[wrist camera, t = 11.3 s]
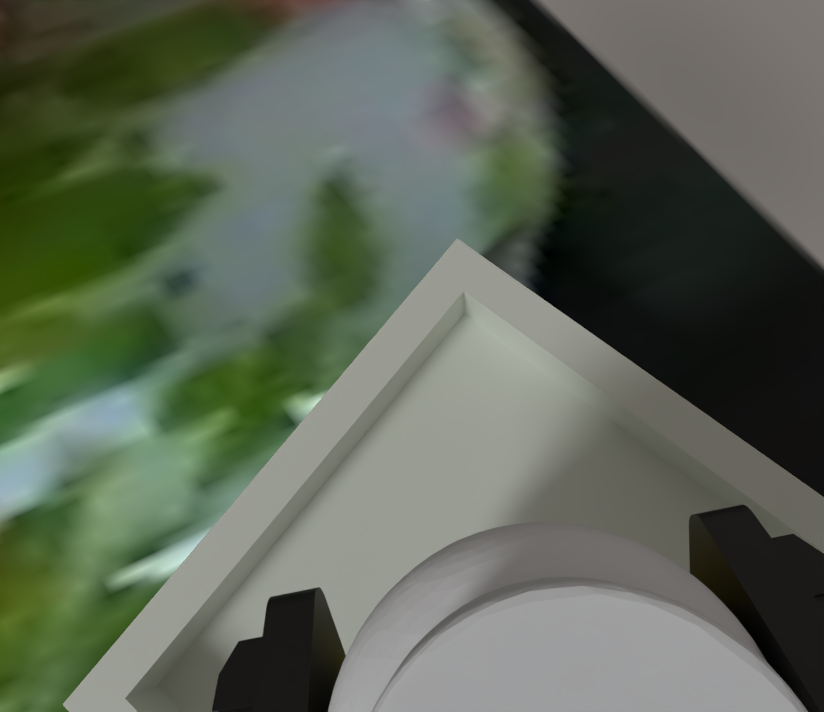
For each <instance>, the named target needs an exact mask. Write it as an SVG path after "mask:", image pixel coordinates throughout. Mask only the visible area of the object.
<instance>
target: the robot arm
mask: <svg viewBox="0 0 824 712" xmlns="http://www.w3.org/2000/svg"><path fill="white" fill-rule="evenodd" d="M689 559H690V574H692V575H693V576H695V577H696V578H697V579H698V580H699V581H700V582H702V583H703V584H704V585H705V586H706V587H707V588H709V589H710V590H711V591H712V592H713V593H714V594H715V595H716V596H717V597H718V598H719V599H720V600H721V601H722V602H723V603H724V604H725V606H726V607H727V608H728V609H729V610H730V611H731V612H732V613H733V614H734V615H735V617H736V618H737V619H738V620H739V622H740V623H741V624H742V626H743V627H744V628H745V629H746V631H747V632H748V633H749V635H750V636H751V637H752V638H753V640H754V642H755V643H756V645H757V646H758V648H759V650H760V651H761V653H762V654H763V656H764V658H765V659H766V661H767V663H768V664H769V665H770V666H771V667H772V668H773V669H774V670H775V672H776V673H777V674H778V675H779V676H780V677H781V678H782V679H783V680H784V681H785V683H786V684H787V685H788V686H789V687H790V688H791V690H792V691H793V692H794V694H795V695H796V696H797V697H798V699H799V700H800V701H801V703H802V704H803V705H804V707H805V708H806V710H807V711H808V712H824V553H822V552H821V551H819V550H818V549H816V548H815V547H813V546H812V545H810V544H808V543H807V542H805V541H804V540H802V539H801V538H799V537H798V536H796V535H795V534H789V535H784V536H779V537H774V538H771V537H770V535H769V534H768V533H767V531H766V530H765V528H764V527H763V526H762V524H761V523H760V522H759V520H758V519H757V517H756V516H755V515H754V513H753V512H752V511H751V510H750V509H749V508H748V507H747V506H745V505H738V506H733V507H728V508H723V509H718V510H713V511H707V512H702V513H697V514H693V515H691V516H690V519H689ZM345 657H346V655H345V652H344V649H343V646H342V643H341V640H340V637H339V635H338V632H337V629H336V626H335V623H334V621H333V618H332V615H331V612H330V609H329V606H328V604H327V601H326V598H325V595H324V593H323V591H322V589H321V588H320V587H317V588H312V589H307V590H302V591H297V592H292V593H287V594H282V595H277V596H272V597H270V598H269V600H268V603H267V607H266V614H265V621H264V628H263V636H262V637H257V638H252V639H247V640H242V641H238V643H237V645H236V646H235V648H234V650H233V651H232V653H231V655H230V656H229V658H228V660H227V662H226V663H225V665H224V667H223V668H222V670H221V672H220V673H219V676H218V681H217V686H216V691H215V696H214V702H213V707H212V712H328V709H329V705H330V701H331V697H332V693H333V689H334V685H335V683H336V680H337V677H338V674H339V672H340V669H341V666H342V663H343V661H344V659H345Z"/></svg>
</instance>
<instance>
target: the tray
mask: <svg viewBox="0 0 824 712" xmlns="http://www.w3.org/2000/svg"><path fill="white" fill-rule="evenodd" d="M738 505H745V506H747V507H748V508H749V509H750V510H751V511H752V512H753V513H754V515H755V516H756V517H757V519H758V520H759V522H760V523H761V524H762V526H763V527H764V528H765V530H766V531H767V533H768V534H769V535H770V537H771V538H774V537H779V536H784V535H789V534H795V535H796V536H798V537H799V538H801V539H802V540H804V541H805V542H807V543H808V544H810V545H812V546H813V547H815V548H816V549H818V550H819V551H821V552H822V553H824V497H823V496H822V495H820V494H819V493H817V492H816V491H814V490H813V489H812V488H810V487H809V486H807V485H806V484H804V483H803V482H802V481H800V480H799V479H797V478H796V477H795V476H793V475H792V474H790V473H789V472H787V471H786V470H785V469H783V468H782V467H780V466H779V465H778V464H776V463H775V462H773V461H772V460H770V459H769V458H768V457H766V456H765V455H763V454H762V453H761V452H759V451H758V450H756V449H755V448H753V447H752V446H751V445H749V444H748V443H746V442H745V441H744V440H742V439H741V438H739V437H738V436H736V435H735V434H734V433H732V432H731V431H729V430H728V429H727V428H725V427H724V426H722V425H721V424H719V423H718V422H717V421H715V420H714V419H712V418H711V417H710V416H708V415H707V414H705V413H704V412H702V411H701V410H700V409H698V408H697V407H695V406H694V405H692V404H691V403H690V402H688V401H687V400H685V399H684V398H683V397H681V396H680V395H678V394H677V393H675V392H674V391H673V390H671V389H670V388H668V387H667V386H666V385H664V384H663V383H661V382H660V381H658V380H657V379H656V378H654V377H653V376H651V375H650V374H649V373H647V372H646V371H644V370H643V369H641V368H640V367H639V366H637V365H636V364H634V363H633V362H632V361H630V360H629V359H627V358H626V357H624V356H623V355H622V354H620V353H619V352H617V351H616V350H615V349H613V348H612V347H610V346H609V345H607V344H606V343H605V342H603V341H602V340H600V339H599V338H598V337H596V336H595V335H593V334H592V333H590V332H589V331H588V330H586V329H585V328H583V327H582V326H581V325H579V324H578V323H576V322H575V321H573V320H572V319H571V318H569V317H568V316H566V315H565V314H563V313H562V312H561V311H559V310H558V309H556V308H555V307H554V306H552V305H551V304H549V303H548V302H546V301H545V300H544V299H542V298H541V297H539V296H538V295H537V294H535V293H534V292H532V291H531V290H529V289H528V288H527V287H525V286H524V285H522V284H521V283H520V282H518V281H517V280H515V279H514V278H512V277H511V276H510V275H508V274H507V273H505V272H504V271H503V270H501V269H500V268H498V267H497V266H495V265H494V264H493V263H491V262H490V261H488V260H487V259H486V258H484V257H483V256H481V255H480V254H478V253H477V252H476V251H474V250H473V249H471V248H470V247H469V246H467V245H466V244H464V243H463V242H461V241H460V240H459V239H456V240H455V242H454V243H453V244H452V245H451V246H450V247H449V249H448V250H447V251H446V252H445V253H444V255H443V256H442V257H441V258H440V259H439V260H438V262H437V263H436V264H435V265H434V266H433V268H432V269H431V270H430V271H429V272H428V273H427V275H426V276H425V277H424V278H423V279H422V280H421V282H420V283H419V284H418V285H417V286H416V288H415V289H414V290H413V291H412V292H411V293H410V295H409V296H408V297H407V298H406V299H405V301H404V302H403V303H402V304H401V305H400V306H399V308H398V309H397V310H396V311H395V312H394V314H393V315H392V316H391V317H390V318H389V319H388V321H387V322H386V323H385V324H384V325H383V327H382V328H381V329H380V330H379V331H378V332H377V334H376V335H375V336H374V337H373V338H372V340H371V341H370V342H369V343H368V344H367V345H366V347H365V348H364V349H363V350H362V351H361V353H360V354H359V355H358V356H357V357H356V358H355V360H354V361H353V362H352V363H351V364H350V366H349V367H348V368H347V369H346V370H345V371H344V373H343V374H342V375H341V376H340V377H339V379H338V380H337V381H336V382H335V383H334V384H333V386H332V387H331V388H330V389H329V390H328V392H327V393H326V394H325V395H324V396H323V397H322V399H321V400H320V401H319V402H318V403H317V405H316V406H315V407H314V408H313V409H312V410H311V412H310V413H309V414H308V415H307V416H306V418H305V419H304V420H303V421H302V422H301V423H300V425H299V426H298V427H297V428H296V429H295V431H294V432H293V433H292V434H291V435H290V436H289V438H288V439H287V440H286V441H285V442H284V444H283V445H282V446H281V447H280V448H279V449H278V451H277V452H276V453H275V454H274V455H273V457H272V458H271V459H270V460H269V461H268V462H267V464H266V465H265V466H264V467H263V468H262V470H261V471H260V472H259V473H258V474H257V475H256V477H255V478H254V479H253V480H252V481H251V483H250V484H249V485H248V486H247V487H246V488H245V490H244V491H243V492H242V493H241V494H240V496H239V497H238V498H237V499H236V500H235V501H234V503H233V504H232V505H231V506H230V507H229V509H228V510H227V511H226V512H225V513H224V514H223V516H222V517H221V518H220V519H219V520H218V522H217V523H216V524H215V525H214V526H213V527H212V529H211V530H210V531H209V532H208V533H207V535H206V536H205V537H204V538H203V539H202V540H201V542H200V543H199V544H198V545H197V546H196V548H195V549H194V550H193V551H192V552H191V553H190V555H189V556H188V557H187V558H186V559H185V561H184V562H183V563H182V564H181V565H180V566H179V568H178V569H177V570H176V571H175V572H174V574H173V575H172V576H171V577H170V578H169V579H168V581H167V582H166V583H165V584H164V585H163V587H162V588H161V589H160V590H159V591H158V592H157V594H156V595H155V596H154V597H153V598H152V600H151V601H150V602H149V603H148V604H147V605H146V607H145V608H144V609H143V610H142V611H141V613H140V614H139V615H138V616H137V617H136V618H135V620H134V621H133V622H132V623H131V624H130V626H129V627H128V628H127V629H126V630H125V631H124V633H123V634H122V635H121V636H120V637H119V639H118V640H117V641H116V642H115V643H114V644H113V646H112V647H111V648H110V649H109V650H108V652H107V653H106V654H105V655H104V656H103V657H102V659H101V660H100V661H99V662H98V663H97V665H96V666H95V667H94V668H93V669H92V670H91V672H90V673H89V674H88V675H87V676H86V678H85V679H84V680H83V681H82V682H81V683H80V685H79V686H78V687H77V688H76V689H75V691H74V692H73V693H72V694H71V695H70V696H69V698H68V699H67V700H66V701H65V702H64V704H63V706H64V707H65V708H66V709H67V710H68V711H69V712H212V707H213V702H214V696H215V691H216V686H217V681H218V676H219V673H220V672H221V670H222V668H223V667H224V665H225V663H226V662H227V660H228V658H229V656H230V655H231V653H232V651H233V650H234V648H235V646H236V645H237V643H238V641H242V640H247V639H252V638H257V637H262V636H263V628H264V621H265V614H266V607H267V603H268V600H269V598H270V597H272V596H277V595H282V594H287V593H292V592H297V591H302V590H307V589H312V588H317V587H320V588H321V589H322V591H323V593H324V595H325V598H326V601H327V604H328V606H329V609H330V612H331V615H332V618H333V621H334V623H335V626H336V629H337V632H338V635H339V637H340V640H341V643H342V646H343V649H344V652H345V655H347V653H348V651H349V649H350V647H351V645H352V643H353V641H354V639H355V637H356V635H357V633H358V632H359V630H360V628H361V627H362V625H363V624H364V622H365V621H366V619H367V618H368V617H369V615H370V614H371V612H372V611H373V610H374V608H375V607H376V606H377V604H378V603H379V602H380V601H381V600H382V598H383V597H384V596H385V595H386V594H387V593H388V592H389V591H390V590H391V589H392V588H393V587H394V586H395V585H396V584H397V583H398V582H399V581H400V580H401V579H402V578H403V577H404V576H405V575H407V574H408V573H409V572H410V571H411V570H412V569H413V568H415V567H416V566H417V565H419V564H420V563H421V562H423V561H424V560H425V559H427V558H428V557H430V556H431V555H432V554H434V553H436V552H438V551H439V550H441V549H443V548H444V547H446V546H448V545H449V544H451V543H453V542H455V541H457V540H460V539H462V538H465V537H467V536H470V535H473V534H475V533H478V532H482V531H485V530H489V529H492V528H497V527H501V526H507V525H513V524H520V523H532V522H559V523H569V524H579V525H584V526H589V527H594V528H598V529H601V530H605V531H608V532H612V533H615V534H619V535H621V536H624V537H626V538H629V539H631V540H634V541H636V542H639V543H641V544H643V545H645V546H647V547H649V548H651V549H653V550H655V551H656V552H658V553H660V554H662V555H664V556H665V557H667V558H669V559H671V560H673V561H674V562H675V563H677V564H678V565H679V566H681V567H682V568H684V569H685V570H686V571H688V572H689V573H690V559H689V519H690V516H691V515H693V514H697V513H702V512H707V511H713V510H718V509H723V508H728V507H733V506H738Z"/></svg>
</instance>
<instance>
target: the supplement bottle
mask: <svg viewBox="0 0 824 712" xmlns="http://www.w3.org/2000/svg"><path fill="white" fill-rule="evenodd" d="M328 712H808V711H807V710H806V708H805V707H804V705H803V704H802V703H801V701H800V700H799V699H798V697H797V696H796V695H795V694H794V692H793V691H792V690H791V688H790V687H789V686H788V685H787V684H786V683H785V681H784V680H783V679H782V678H781V677H780V676H779V675H778V674H777V673H776V672H775V670H774V669H773V668H772V667H771V666H770V665H769V664H768V663H767V661H766V659H765V658H764V656H763V654H762V653H761V651H760V650H759V648H758V646H757V645H756V643H755V642H754V640H753V638H752V637H751V636H750V635H749V633H748V632H747V631H746V629H745V628H744V627H743V626H742V624H741V623H740V622H739V620H738V619H737V618H736V617H735V615H734V614H733V613H732V612H731V611H730V610H729V609H728V608H727V607H726V606H725V604H724V603H723V602H722V601H721V600H720V599H719V598H718V597H717V596H716V595H715V594H714V593H713V592H712V591H711V590H710V589H709V588H707V587H706V586H705V585H704V584H703V583H702V582H700V581H699V580H698V579H697V578H696V577H695V576H693V575H692V574H690V573H689V572H688V571H686V570H685V569H684V568H682V567H681V566H679V565H678V564H677V563H675V562H674V561H673V560H671V559H669V558H667V557H665V556H664V555H662V554H660V553H658V552H656V551H655V550H653V549H651V548H649V547H647V546H645V545H643V544H641V543H639V542H636V541H634V540H631V539H629V538H626V537H624V536H621V535H619V534H615V533H612V532H608V531H605V530H601V529H598V528H594V527H589V526H584V525H579V524H569V523H559V522H532V523H520V524H513V525H507V526H501V527H497V528H492V529H489V530H485V531H482V532H478V533H475V534H473V535H470V536H467V537H465V538H462V539H460V540H457V541H455V542H453V543H451V544H449V545H448V546H446V547H444V548H443V549H441V550H439V551H438V552H436V553H434V554H432V555H431V556H430V557H428V558H427V559H425V560H424V561H423V562H421V563H420V564H419V565H417V566H416V567H415V568H413V569H412V570H411V571H410V572H409V573H408V574H407V575H405V576H404V577H403V578H402V579H401V580H400V581H399V582H398V583H397V584H396V585H395V586H394V587H393V588H392V589H391V590H390V591H389V592H388V593H387V594H386V595H385V596H384V597H383V598H382V600H381V601H380V602H379V603H378V604H377V606H376V607H375V608H374V610H373V611H372V612H371V614H370V615H369V617H368V618H367V619H366V621H365V622H364V624H363V625H362V627H361V628H360V630H359V632H358V633H357V635H356V637H355V639H354V641H353V643H352V645H351V647H350V649H349V651H348V653H347V655H346V657H345V659H344V661H343V663H342V666H341V669H340V672H339V674H338V677H337V680H336V683H335V685H334V689H333V693H332V697H331V701H330V705H329V709H328Z"/></svg>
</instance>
